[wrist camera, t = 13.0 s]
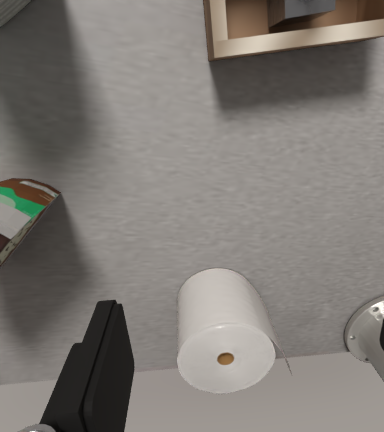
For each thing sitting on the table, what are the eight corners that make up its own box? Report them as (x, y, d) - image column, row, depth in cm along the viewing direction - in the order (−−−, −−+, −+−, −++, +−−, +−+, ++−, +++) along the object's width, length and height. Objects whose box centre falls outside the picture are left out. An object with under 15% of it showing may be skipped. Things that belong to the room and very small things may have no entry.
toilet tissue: (167, 278, 41) (164, 335, 32) (256, 256, 40) (280, 308, 31) (187, 337, 45) (190, 402, 36) (268, 318, 44) (293, 380, 35)
